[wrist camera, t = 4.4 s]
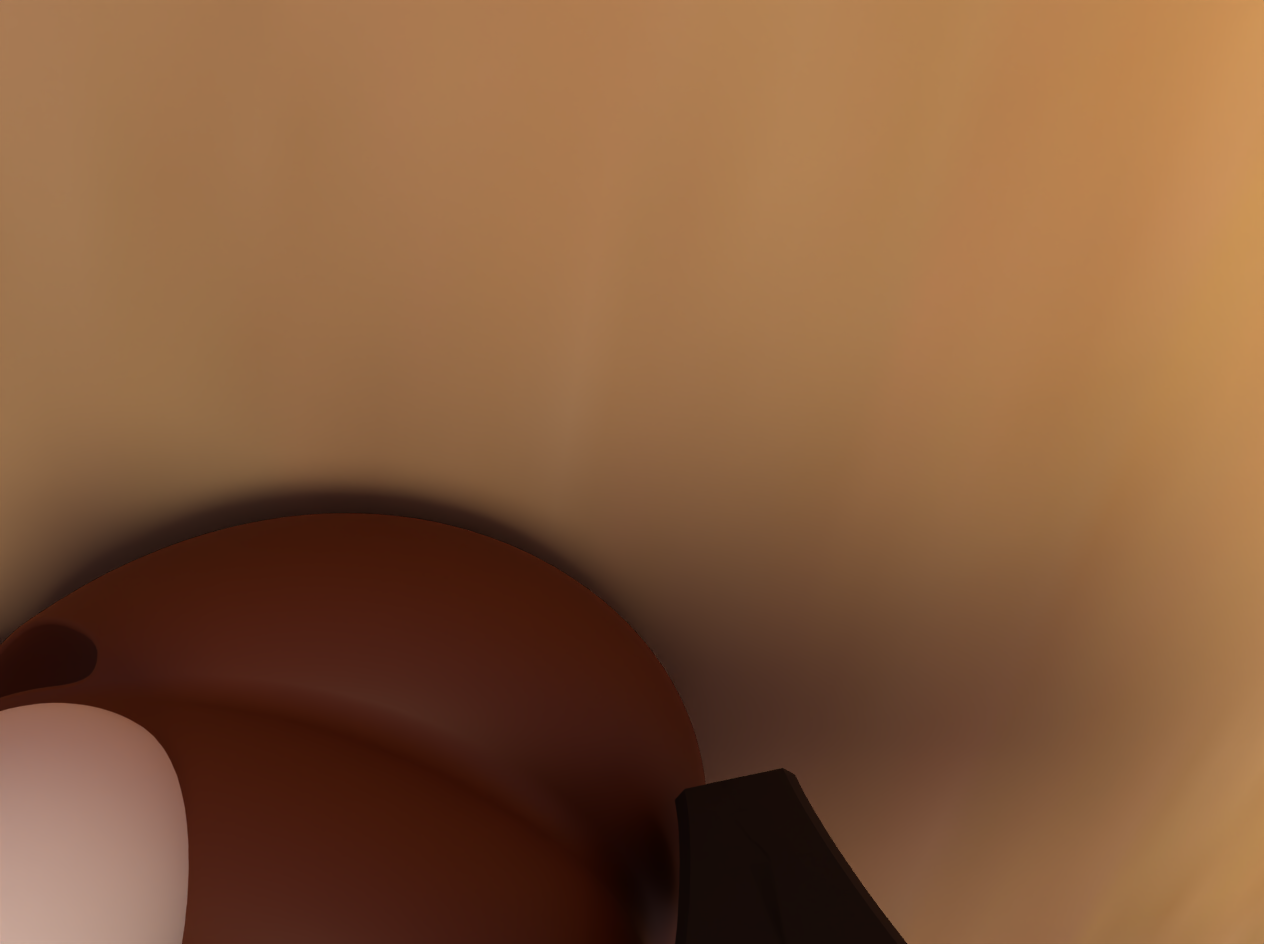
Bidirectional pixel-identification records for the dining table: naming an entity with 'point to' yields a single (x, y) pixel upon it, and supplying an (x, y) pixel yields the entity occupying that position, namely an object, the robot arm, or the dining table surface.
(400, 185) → the dining table surface
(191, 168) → the dining table surface
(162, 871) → the poop emoji
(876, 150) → the dining table surface
